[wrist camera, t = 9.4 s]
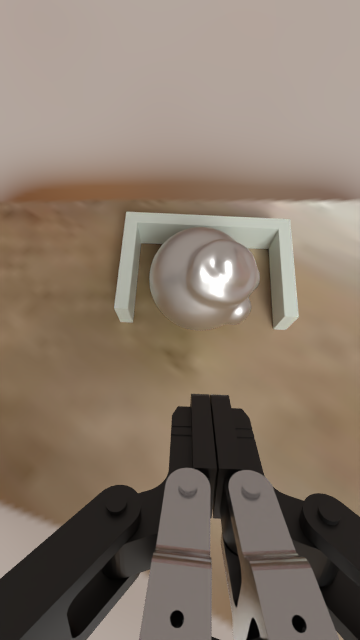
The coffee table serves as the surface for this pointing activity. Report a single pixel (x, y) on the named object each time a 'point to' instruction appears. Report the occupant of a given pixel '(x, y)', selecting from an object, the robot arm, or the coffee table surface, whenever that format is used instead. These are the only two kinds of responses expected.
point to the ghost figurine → (203, 279)
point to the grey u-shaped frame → (239, 228)
